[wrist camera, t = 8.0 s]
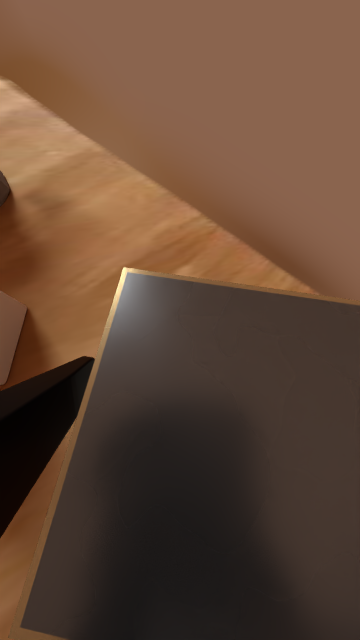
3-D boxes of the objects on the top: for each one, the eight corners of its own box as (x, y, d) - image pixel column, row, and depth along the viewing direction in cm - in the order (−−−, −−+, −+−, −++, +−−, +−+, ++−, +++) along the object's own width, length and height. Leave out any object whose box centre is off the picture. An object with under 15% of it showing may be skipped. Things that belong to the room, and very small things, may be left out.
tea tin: (226, 450, 13) (484, 757, 2) (149, 436, 14) (8, 637, 2) (231, 371, 15) (383, 304, 4) (164, 360, 15) (123, 267, 4)
